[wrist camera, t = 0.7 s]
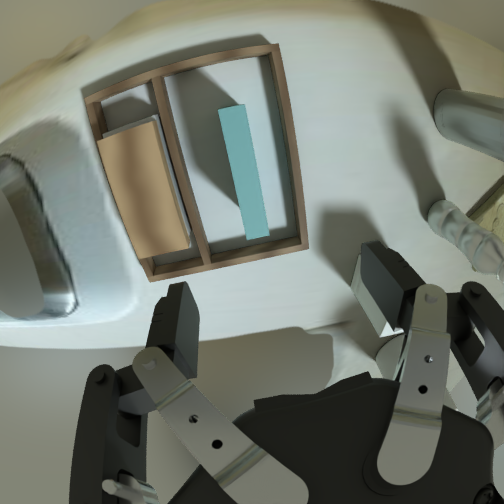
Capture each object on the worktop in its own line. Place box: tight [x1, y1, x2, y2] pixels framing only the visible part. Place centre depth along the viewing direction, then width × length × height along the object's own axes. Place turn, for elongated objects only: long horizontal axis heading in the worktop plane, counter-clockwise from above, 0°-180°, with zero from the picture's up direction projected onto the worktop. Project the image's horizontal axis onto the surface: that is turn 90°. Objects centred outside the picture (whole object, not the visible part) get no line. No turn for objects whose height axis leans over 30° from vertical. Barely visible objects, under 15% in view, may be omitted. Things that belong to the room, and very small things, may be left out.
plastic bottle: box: [428, 200, 504, 284], centre depth 32 cm, size 6×7×20 cm
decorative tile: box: [469, 183, 504, 272], centre depth 43 cm, size 18×20×4 cm
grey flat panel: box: [102, 114, 191, 236], centre depth 31 cm, size 7×16×2 cm, turn 10°
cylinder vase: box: [376, 334, 458, 411], centre depth 50 cm, size 12×12×25 cm
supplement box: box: [351, 254, 404, 337], centre depth 40 cm, size 7×7×13 cm
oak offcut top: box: [97, 120, 190, 259], centre depth 30 cm, size 7×16×2 cm, turn 10°
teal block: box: [218, 104, 269, 240], centre depth 30 cm, size 2×14×9 cm, turn 10°
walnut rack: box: [84, 43, 309, 282], centre depth 32 cm, size 24×28×2 cm
